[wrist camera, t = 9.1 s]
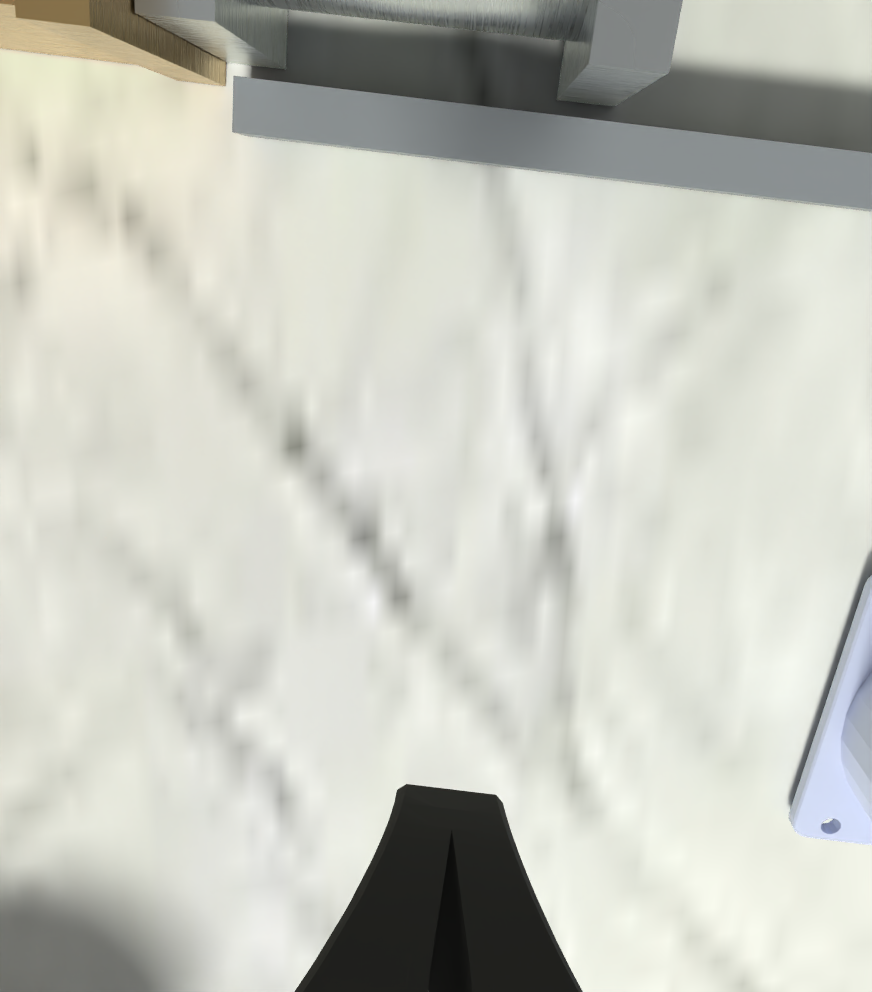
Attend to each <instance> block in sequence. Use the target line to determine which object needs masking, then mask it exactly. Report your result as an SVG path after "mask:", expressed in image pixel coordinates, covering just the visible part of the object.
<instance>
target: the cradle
mask: <svg viewBox="0 0 872 992" xmlns="http://www.w3.org/2000/svg"><path fill="white" fill-rule="evenodd" d="M232 132H234V133H238V134H242V135H245V136H251V137H259V138H267V139H276V140H284V141H292V142H300V143H309V144H317V145H325V146H334V147H342V148H350V149H358V150H367V151H375V152H383V153H392V154H400V155H408V156H416V157H425V158H433V159H441V160H450V161H458V162H466V163H474V164H483V165H491V166H499V167H508V168H516V169H524V170H532V171H541V172H549V173H557V174H566V175H574V176H582V177H590V178H599V179H607V180H615V181H624V182H632V183H640V184H648V185H657V186H665V187H673V188H682V189H690V190H698V191H706V192H715V193H723V194H731V195H740V196H748V197H756V198H764V199H773V200H781V201H789V202H798V203H806V204H814V205H822V206H831V207H839V208H847V209H856V210H864V211H872V153H869V152H860V151H852V150H844V149H835V148H827V147H819V146H811V145H802V144H794V143H786V142H777V141H769V140H761V139H753V138H744V137H736V136H728V135H720V134H711V133H703V132H695V131H686V130H678V129H670V128H662V127H653V126H645V125H637V124H628V123H620V122H612V121H604V120H595V119H587V118H579V117H570V116H562V115H554V114H546V113H537V112H529V111H521V110H512V109H504V108H496V107H488V106H479V105H471V104H463V103H454V102H446V101H438V100H430V99H421V98H413V97H405V96H396V95H388V94H380V93H372V92H363V91H355V90H347V89H338V88H330V87H322V86H314V85H305V84H297V83H289V82H280V81H272V80H264V79H256V78H247V77H239V76H234V81H233V123H232Z"/></svg>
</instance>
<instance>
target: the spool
mask: <svg viewBox="0 0 872 992" xmlns="http://www.w3.org/2000/svg"><path fill="white" fill-rule="evenodd" d="M682 1H683V0H135V13H136V14H138V15H140V16H142V17H144V18H146V19H147V20H149V21H151V22H153V23H155V24H157V25H159V26H160V27H162V28H164V29H166V30H168V31H170V32H172V33H174V34H175V35H177V36H179V37H181V38H183V39H185V40H187V41H188V42H190V43H192V44H194V45H196V46H198V47H200V48H201V49H203V50H205V51H207V52H209V53H211V54H213V55H214V56H216V57H218V58H220V59H222V60H224V61H226V62H227V63H234V64H242V65H251V66H260V67H269V68H278V69H286V59H287V32H288V10H297V11H306V12H315V13H324V14H333V15H341V16H350V17H359V18H368V19H377V20H386V21H395V22H403V23H412V24H421V25H430V26H439V27H448V28H457V29H466V30H474V31H483V32H492V33H501V34H510V35H519V36H528V37H537V38H545V39H554V40H563V41H565V44H564V51H563V58H562V65H561V72H560V79H559V86H558V93H557V100H561V101H570V102H579V103H588V104H597V105H606V106H616V105H618V104H619V103H621V102H623V101H624V100H626V99H628V98H629V97H631V96H632V95H634V94H636V93H637V92H639V91H641V90H642V89H644V88H645V87H647V86H649V85H650V84H652V83H654V82H655V81H657V80H658V79H660V78H662V77H663V76H665V75H667V74H668V73H669V71H670V66H671V60H672V55H673V49H674V44H675V38H676V33H677V28H678V22H679V17H680V11H681V6H682Z"/></svg>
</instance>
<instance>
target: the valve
mask: <svg viewBox="0 0 872 992" xmlns="http://www.w3.org/2000/svg"><path fill="white" fill-rule="evenodd" d="M0 48H2V49H10V50H19V51H27V52H35V53H44V54H52V55H60V56H68V57H77V58H85V59H93V60H102V61H110V62H118V63H126V64H135V65H139V66H142V67H144V68H147V69H149V70H152V71H154V72H157V73H160V74H162V75H165V76H167V77H170V78H173V79H175V80H178V81H187V82H195V83H203V84H211V85H220V86H225V80H226V61H224V60H222V59H220V58H218V57H216V56H214V55H213V54H211V53H209V52H207V51H205V50H203V49H201V48H200V47H198V46H196V45H194V44H192V43H190V42H188V41H187V40H185V39H183V38H181V37H179V36H177V35H175V34H174V33H172V32H170V31H168V30H166V29H164V28H162V27H160V26H159V25H157V24H155V23H153V22H151V21H149V20H147V19H146V18H144V17H142V16H140V15H138V14H136V13H135V0H0Z"/></svg>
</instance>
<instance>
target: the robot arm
mask: <svg viewBox="0 0 872 992" xmlns="http://www.w3.org/2000/svg"><path fill="white" fill-rule="evenodd" d="M827 819H833V820H832V821H830V822H828V823H823V822H824V821H825V820H827ZM789 820H790V822H791V824H792V826H793V828H794V830H795V832H796V833H798V834H799V835H801V836H804V837H808V838H817V839H825V840H833V841H841V842H850V843H858V844H866V845H872V575H871V576H870V577H869V578H868V580H867V582H866V583H865V585H864V588H863V591H862V595H861V598H860V601H859V604H858V607H857V610H856V613H855V616H854V619H853V622H852V625H851V628H850V631H849V634H848V637H847V640H846V643H845V646H844V649H843V652H842V655H841V658H840V661H839V664H838V667H837V670H836V673H835V676H834V679H833V682H832V685H831V688H830V691H829V694H828V697H827V700H826V703H825V706H824V709H823V712H822V715H821V718H820V722H819V725H818V728H817V731H816V734H815V737H814V740H813V743H812V746H811V749H810V752H809V755H808V758H807V761H806V764H805V767H804V770H803V773H802V776H801V779H800V782H799V785H798V788H797V791H796V794H795V797H794V800H793V803H792V806H791V809H790V812H789ZM822 823H823V824H822ZM295 992H582V990H581V988H580V986H579V984H578V982H577V980H576V978H575V977H574V975H573V973H572V971H571V969H570V967H569V965H568V963H567V961H566V959H565V957H564V955H563V953H562V951H561V949H560V947H559V945H558V943H557V941H556V939H555V937H554V935H553V932H552V930H551V928H550V926H549V924H548V921H547V919H546V917H545V915H544V913H543V911H542V908H541V906H540V904H539V902H538V900H537V897H536V895H535V893H534V890H533V888H532V886H531V883H530V881H529V878H528V876H527V873H526V871H525V868H524V866H523V863H522V861H521V858H520V855H519V853H518V850H517V847H516V844H515V842H514V839H513V836H512V833H511V830H510V827H509V824H508V820H507V817H506V814H505V810H504V806H503V803H502V802H501V800H500V799H499V798H498V797H497V795H492V794H484V793H476V792H467V791H459V790H451V789H442V788H434V787H426V786H417V785H409V784H406V785H404V786H403V787H401V788H400V789H398V790H397V793H396V798H395V803H394V806H393V809H392V813H391V816H390V819H389V821H388V824H387V827H386V829H385V832H384V834H383V837H382V839H381V841H380V843H379V846H378V848H377V850H376V852H375V855H374V857H373V859H372V861H371V863H370V865H369V867H368V869H367V871H366V873H365V875H364V877H363V879H362V881H361V882H360V884H359V886H358V888H357V890H356V892H355V894H354V896H353V898H352V900H351V902H350V904H349V905H348V907H347V909H346V911H345V912H344V914H343V916H342V917H341V919H340V921H339V922H338V924H337V926H336V927H335V929H334V931H333V932H332V934H331V936H330V937H329V939H328V940H327V942H326V944H325V945H324V947H323V949H322V950H321V952H320V954H319V955H318V957H317V959H316V960H315V962H314V963H313V965H312V966H311V968H310V969H309V971H308V972H307V974H306V975H305V977H304V978H303V980H302V981H301V983H300V984H299V986H298V987H297V989H296V990H295Z"/></svg>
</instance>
